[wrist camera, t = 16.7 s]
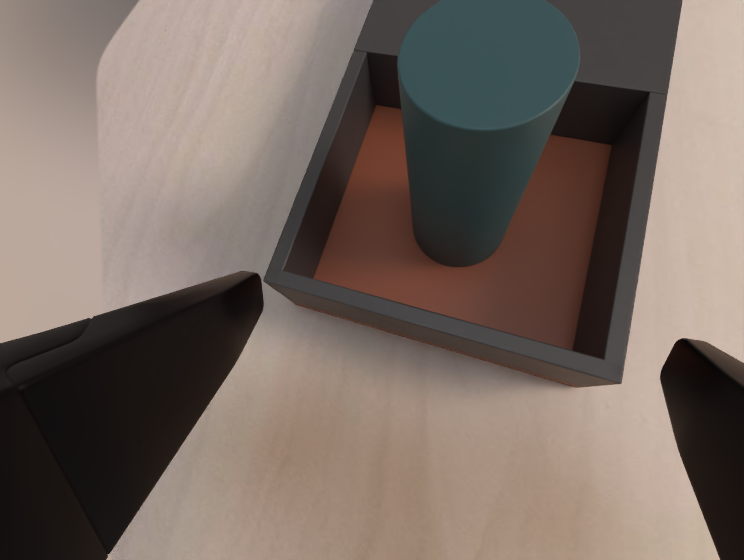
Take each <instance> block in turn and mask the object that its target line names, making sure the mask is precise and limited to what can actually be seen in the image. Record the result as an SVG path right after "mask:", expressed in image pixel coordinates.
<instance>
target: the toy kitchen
mask: <svg viewBox="0 0 744 560" xmlns="http://www.w3.org/2000/svg"><path fill="white" fill-rule="evenodd" d="M439 1H441V0H373V3H372V5H371V8H370V10H369V13H368V15H367V18H366V20H365V23H364V25H363V28H362V31H361V33H360V36H359V38H358V41H357V43H356V46H355V48H354V51H353V54H352V56H351V59H350V62H349V64H348V67H347V69H346V72H345V74H344V77H343V79H342V82H341V84H340V87H339V89H338V92H337V95H336V97H335V100H334V102H333V105H332V107H331V110H330V112H329V115H328V117H327V120H326V122H325V125H324V127H323V130H322V133H321V135H320V138H319V140H318V143H317V145H316V148H315V150H314V153H313V155H312V158H311V160H310V163H309V166H308V168H307V171H306V173H305V176H304V178H303V181H302V183H301V186H300V188H299V191H298V193H297V196H296V198H295V201H294V204H293V206H292V209H291V211H290V214H289V216H288V219H287V221H286V224H285V226H284V229H283V231H282V234H281V237H280V239H279V242H278V244H277V247H276V249H275V252H274V254H273V257H272V259H271V262H270V264H269V267H268V269H267V272H266V275H265V277H264V280H263V281H264V282H265V283H267V284H268V285H270V286H271V287H272V288H274V289H275V290H277V291H278V292H279V293H281V294H282V295H284V296H285V297H286V298H288V299H289V300H291V301H292V302H293V303H295V304H296V305H299V306H303V307H306V308H309V309H313V310H316V311H320V312H323V313H326V314H330V315H333V316H337V317H340V318H343V319H347V320H350V321H353V322H357V323H360V324H364V325H367V326H370V327H374V328H377V329H380V330H384V331H387V332H391V333H394V334H397V335H401V336H404V337H408V338H411V339H414V340H418V341H421V342H424V343H428V344H431V345H435V346H438V347H441V348H445V349H448V350H451V351H455V352H458V353H462V354H465V355H468V356H472V357H475V358H479V359H482V360H485V361H489V362H492V363H495V364H499V365H502V366H506V367H509V368H512V369H516V370H519V371H522V372H526V373H529V374H533V375H536V376H539V377H543V378H546V379H550V380H553V381H556V382H560V383H563V384H566V385H570V386H573V387H589V386H601V385H613V384H621V383H622V377H623V371H624V364H625V358H626V352H627V345H628V339H629V333H630V326H631V320H632V314H633V308H634V301H635V295H636V289H637V282H638V276H639V270H640V264H641V257H642V251H643V245H644V238H645V232H646V226H647V219H648V213H649V207H650V201H651V194H652V188H653V182H654V175H655V169H656V163H657V157H658V150H659V144H660V138H661V131H662V125H663V119H664V112H665V106H666V100H667V94H668V88H669V82H670V75H671V69H672V63H673V57H674V50H675V44H676V38H677V31H678V25H679V19H680V12H681V6H682V0H545V1H547V2H549V3H550V4H552V5H553V6H554V7H556V8H557V9H558V10H559V11H560V12H561V13H562V14H563V15H564V16H565V17H566V18H567V19H568V21H569V22H570V24H571V25H572V27H573V29H574V31H575V33H576V35H577V39H578V43H579V48H580V64H579V69H578V73H577V76H576V79H575V81H574V83H573V85H572V87H571V90H570V92H569V94H568V96H567V98H566V101H565V103H564V105H563V107H562V109H561V112H560V114H559V116H558V118H557V121H556V123H555V125H554V127H553V129H552V132H551V134H550V136H549V138H548V140H547V143H546V145H545V147H544V149H543V151H542V154H541V156H540V158H539V160H538V162H537V165H536V167H535V169H534V171H533V173H532V176H531V178H530V180H529V182H528V185H527V187H526V189H525V191H524V193H523V196H522V198H521V200H520V202H519V204H518V207H517V209H516V211H515V213H514V215H513V218H512V220H511V222H510V224H509V226H508V229H507V231H506V233H505V235H504V237H503V240H502V242H501V244H500V246H499V247H498V249H497V250H496V251H495V252H494V253H493V254H492V255H491V256H490V257H488V258H487V259H485V260H484V261H482V262H480V263H478V264H475V265H471V266H466V267H452V266H447V265H443V264H441V263H438V262H436V261H434V260H433V259H431V258H430V257H429V256H427V255H426V254H425V253H424V252H423V251H422V249H421V248H420V247H419V245H418V243H417V241H416V239H415V236H414V232H413V222H412V212H411V202H410V192H409V182H408V171H407V161H406V151H405V141H404V131H403V121H402V110H401V100H400V90H399V80H398V69H397V60H398V53H399V49H400V46H401V43H402V41H403V38H404V36H405V34H406V33H407V31H408V29H409V28H410V27H411V25H412V24H413V23H414V21H415V20H416V19H417V18H418V17H419V16H420V15H421V14H422V13H424V12H425V11H426V10H427V9H429V8H430V7H431V6H433V5H435V4H436V3H438V2H439Z"/></svg>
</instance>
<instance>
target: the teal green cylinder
mask: <svg viewBox="0 0 744 560" xmlns="http://www.w3.org/2000/svg"><path fill="white" fill-rule="evenodd" d="M579 64H580V48H579V43H578V39H577V35H576V33H575V31H574V29H573V27H572V25H571V24H570V22H569V21H568V19H567V18H566V17H565V16H564V15H563V14H562V13H561V12H560V11H559V10H558V9H557V8H556V7H554V6H553V5H552V4H550V3H549V2H547V1H545V0H441V1H439V2H438V3H436V4H435V5H433V6H431V7H430V8H429V9H427V10H426V11H425V12H424V13H422V14H421V15H420V16H419V17H418V18H417V19H416V20H415V21H414V23H413V24H412V25H411V27H410V28H409V29H408V31H407V33H406V34H405V36H404V38H403V41H402V43H401V46H400V49H399V53H398V60H397V69H398V80H399V90H400V100H401V110H402V121H403V131H404V141H405V151H406V161H407V171H408V182H409V192H410V202H411V212H412V222H413V232H414V236H415V239H416V241H417V243H418V245H419V247H420V248H421V249H422V251H423V252H424V253H425V254H426V255H427V256H429V257H430V258H431V259H433V260H434V261H436V262H438V263H441V264H443V265H447V266H452V267H466V266H471V265H475V264H478V263H480V262H482V261H484V260H485V259H487V258H488V257H490V256H491V255H492V254H493V253H494V252H495V251H496V250H497V249H498V247H499V246H500V244H501V242H502V240H503V237H504V235H505V233H506V231H507V229H508V226H509V224H510V222H511V220H512V218H513V215H514V213H515V211H516V209H517V207H518V204H519V202H520V200H521V198H522V196H523V193H524V191H525V189H526V187H527V185H528V182H529V180H530V178H531V176H532V173H533V171H534V169H535V167H536V165H537V162H538V160H539V158H540V156H541V154H542V151H543V149H544V147H545V145H546V143H547V140H548V138H549V136H550V134H551V132H552V129H553V127H554V125H555V123H556V121H557V118H558V116H559V114H560V112H561V109H562V107H563V105H564V103H565V101H566V98H567V96H568V94H569V92H570V90H571V87H572V85H573V83H574V81H575V79H576V76H577V73H578V69H579Z"/></svg>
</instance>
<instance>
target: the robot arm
mask: <svg viewBox="0 0 744 560" xmlns="http://www.w3.org/2000/svg"><path fill="white" fill-rule="evenodd" d="M263 306H264V301H263V292H262V283H261V278H260V276H259V275H258V274H257V273H254V272H247V271H240V272H237V273H234V274H230V275H227V276H224V277H221V278H217V279H214V280H211V281H208V282H204V283H201V284H198V285H195V286H191V287H188V288H185V289H182V290H178V291H175V292H172V293H169V294H165V295H162V296H159V297H156V298H152V299H149V300H146V301H143V302H139V303H136V304H133V305H130V306H126V307H123V308H120V309H117V310H113V311H110V312H107V313H104V314H100V315H97V316H94V317H93V318H92V319H90V318H87V319H84V320H81V321H77V322H74V323H71V324H68V325H65V326H61V327H57V328H54V329H51V330H48V331H44V332H41V333H37V334H33V335H30V336H26V337H23V338H19V339H15V340H11V341H8V342H4V343H0V560H106V559H107V558H108V555H107V554H110V553H111V551H112V550H113V548H114V547H115V545H116V544H117V542H118V540H119V539H120V537H121V536H122V534H123V533H124V531H125V530H126V528H127V527H128V525H129V524H130V522H131V521H132V519H133V518H134V516H135V515H136V513H137V512H138V510H139V509H140V507H141V506H142V504H143V503H144V501H145V500H146V498H147V497H148V495H149V494H150V492H151V491H152V489H153V488H154V486H155V485H156V483H157V482H158V480H159V479H160V477H161V476H162V474H163V473H164V471H165V469H166V468H167V466H168V465H169V463H170V462H171V460H172V459H173V457H174V456H175V454H176V453H177V451H178V450H179V448H180V447H181V445H182V444H183V442H184V441H185V439H186V438H187V436H188V435H189V433H190V432H191V430H192V429H193V427H194V426H195V424H196V423H197V421H198V420H199V418H200V417H201V415H202V414H203V412H204V411H205V409H206V408H207V406H208V405H209V403H210V401H211V400H212V398H213V397H214V395H215V394H216V392H217V391H218V389H219V388H220V386H221V385H222V383H223V382H224V380H225V379H226V377H227V376H228V374H229V373H230V371H231V370H232V368H233V367H234V365H235V363H236V362H237V360H238V358H239V356H240V355H241V353H242V351H243V349H244V347H245V345H246V343H247V341H248V339H249V337H250V335H251V333H252V331H253V329H254V327H255V325H256V323H257V321H258V319H259V317H260V315H261V313H262V311H263ZM660 380H661V385H662V389H663V393H664V397H665V401H666V405H667V409H668V413H669V416H670V420H671V424H672V428H673V432H674V436H675V440H676V443H677V447H678V450H679V453H680V456H681V458H682V461H683V464H684V467H685V469H686V472H687V474H688V477H689V480H690V482H691V485H692V487H693V490H694V493H695V495H696V498H697V500H698V503H699V506H700V508H701V511H702V513H703V516H704V519H705V521H706V524H707V526H708V529H709V532H710V534H711V537H712V539H713V542H714V545H715V547H716V550H717V552H718V555H719V558H720V560H744V363H743V362H741V361H739V360H737V359H735V358H734V357H732V356H730V355H728V354H727V353H725V352H723V351H721V350H719V349H718V348H716V347H714V346H712V345H711V344H709V343H707V342H704V341H700V340H693V339H686V338H682V339H680V340H678V341H677V342H676V343H675V344H674V346H673V348H672V350H671V352H670V354H669V356H668V358H667V360H666V362H665V364H664V366H663V368H662V370H661V375H660Z"/></svg>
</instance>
